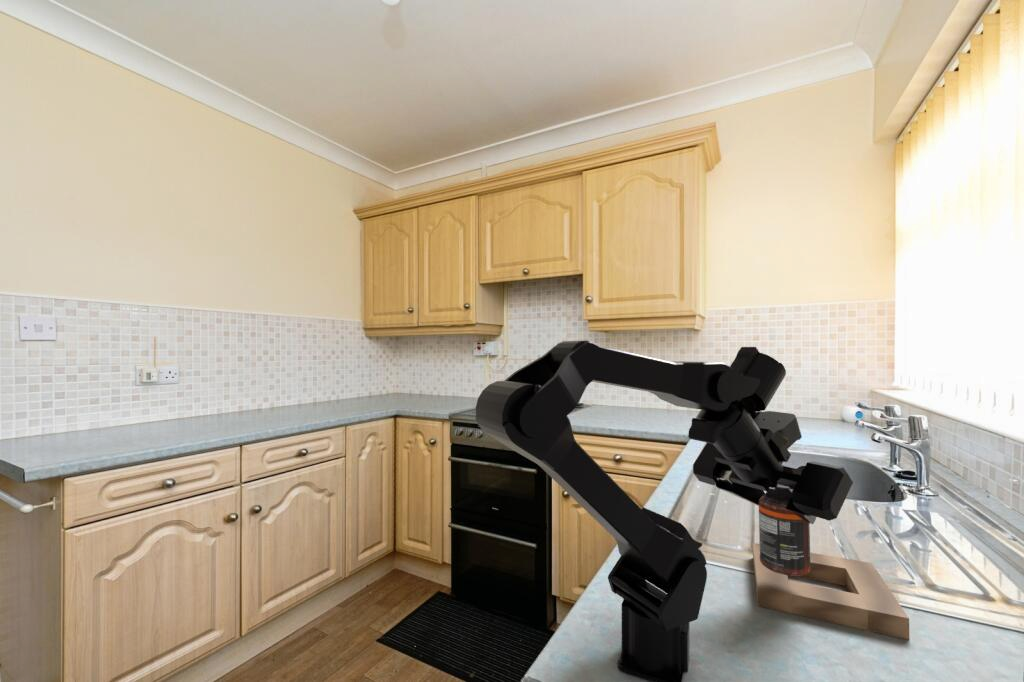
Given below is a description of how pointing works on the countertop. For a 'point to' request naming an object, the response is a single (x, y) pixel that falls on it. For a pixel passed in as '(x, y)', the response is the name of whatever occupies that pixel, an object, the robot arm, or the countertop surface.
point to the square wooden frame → (834, 594)
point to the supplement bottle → (783, 535)
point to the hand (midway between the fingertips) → (789, 513)
